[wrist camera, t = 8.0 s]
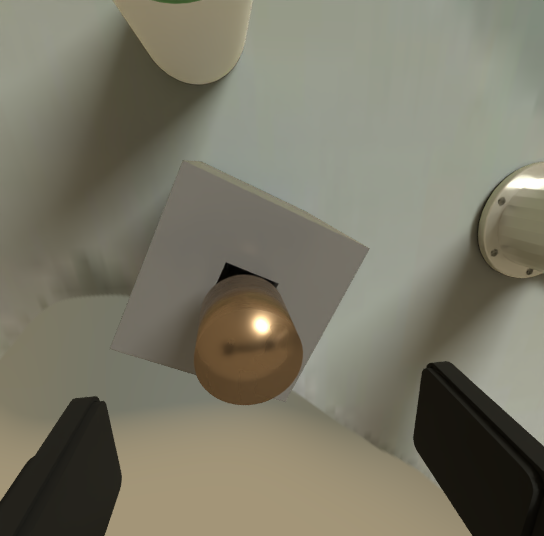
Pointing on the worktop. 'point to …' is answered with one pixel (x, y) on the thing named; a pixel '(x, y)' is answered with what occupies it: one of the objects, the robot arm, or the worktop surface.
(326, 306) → the grey box
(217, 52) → the container
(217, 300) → the plunger
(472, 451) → the robot arm
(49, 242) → the worktop surface
